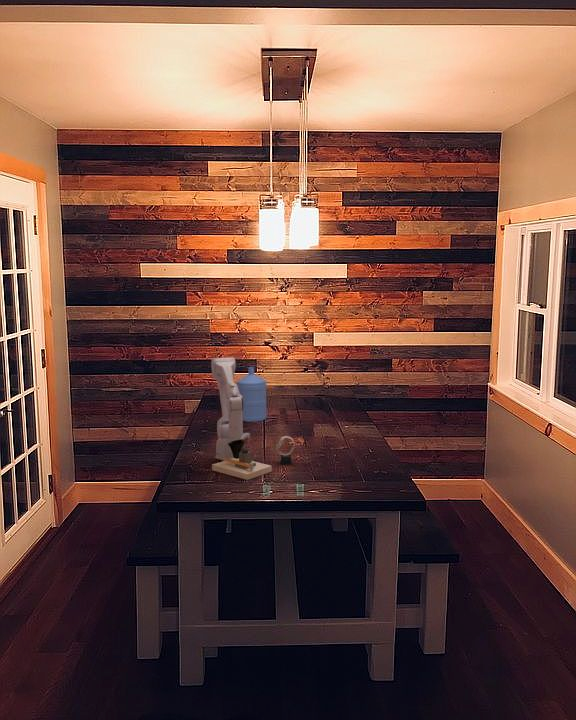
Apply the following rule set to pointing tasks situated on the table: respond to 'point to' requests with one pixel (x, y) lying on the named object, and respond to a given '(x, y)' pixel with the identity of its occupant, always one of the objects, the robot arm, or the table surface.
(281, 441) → the watch
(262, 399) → the water jug
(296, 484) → the table surface
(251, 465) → the orange long bar
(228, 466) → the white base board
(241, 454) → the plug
